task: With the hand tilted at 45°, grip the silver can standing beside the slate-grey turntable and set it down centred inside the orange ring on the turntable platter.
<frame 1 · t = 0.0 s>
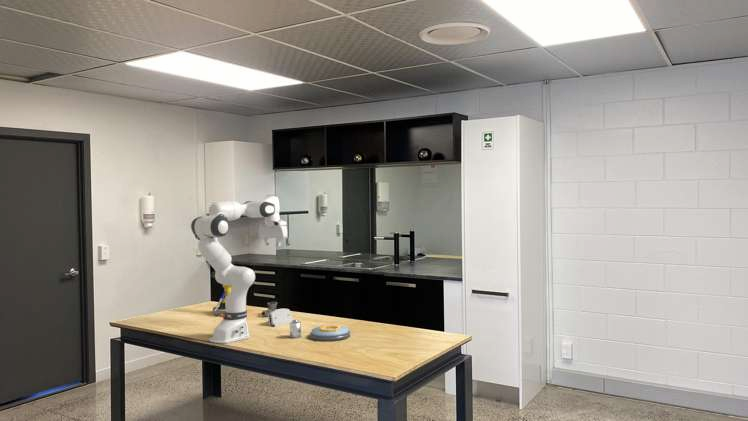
hand: (273, 245, 328), 48 cm above the table, tool pointing down, fingers open, 8 cm apart
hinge: (280, 324, 334), on the table
turntable platter: (329, 330, 300), point 3 cm above the table, hinge at 0.0°
pipe: (270, 316, 357), on the table
turntable base: (330, 336, 300), on the table
silver can: (295, 337, 300), on the table
cordless drill: (225, 313, 369), on the table
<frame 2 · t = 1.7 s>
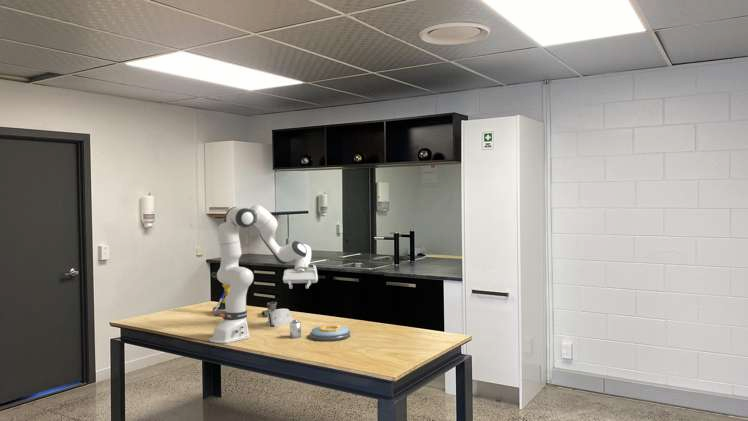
hand: (298, 288, 314), 24 cm above the table, tool tilted 45°, fingers open, 8 cm apart
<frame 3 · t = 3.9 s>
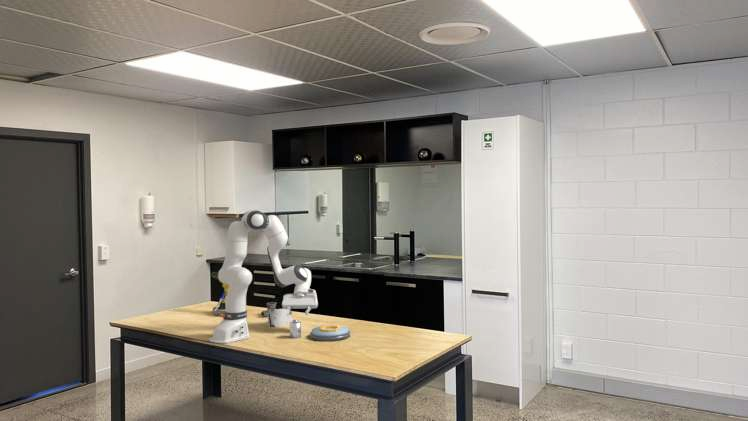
hand: (298, 314, 307), 11 cm above the table, tool tilted 45°, fingers open, 8 cm apart
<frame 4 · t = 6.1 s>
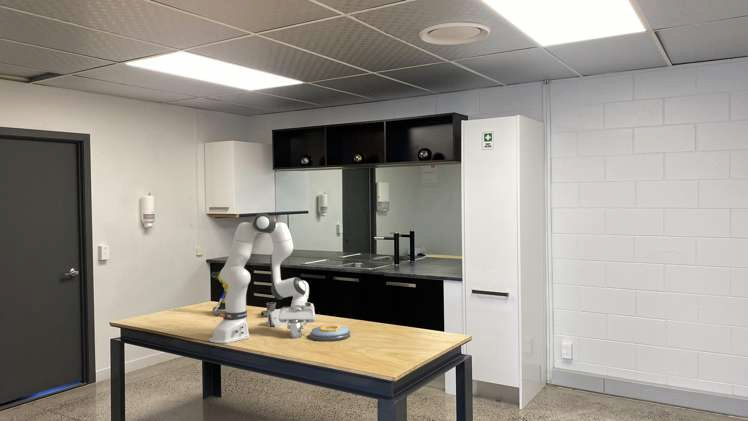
hand: (295, 328, 299), 5 cm above the table, tool tilted 45°, fingers closed on silver can, 6 cm apart
silver can: (295, 337, 300), on the table, touching gripper
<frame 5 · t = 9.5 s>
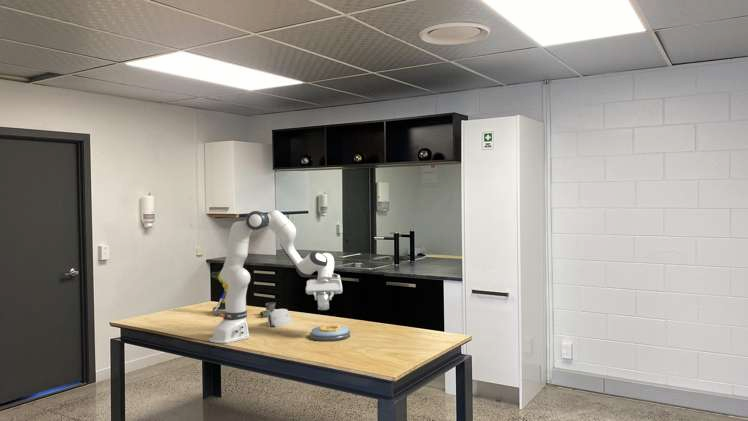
hand: (323, 299, 299), 20 cm above the table, tool tilted 45°, fingers closed on silver can, 6 cm apart
silver can: (323, 308, 300), point 15 cm above the table, touching gripper
when the fingers open (10 cm above the table, at t = 12.6 s): silver can drops 1 cm, resting on turntable platter.
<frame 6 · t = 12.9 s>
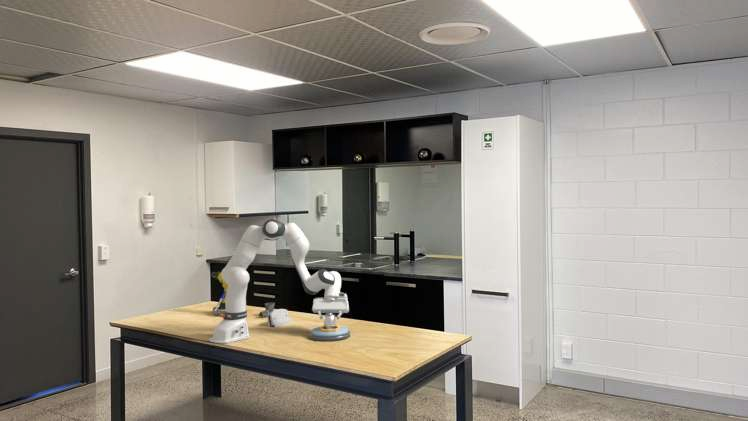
hand: (329, 318, 299), 10 cm above the table, tool tilted 45°, fingers open, 8 cm apart
turntable platter: (329, 330, 300), point 3 cm above the table, hinge at 0.0°, touching silver can
silver can: (329, 329, 300), point 4 cm above the table, touching turntable platter
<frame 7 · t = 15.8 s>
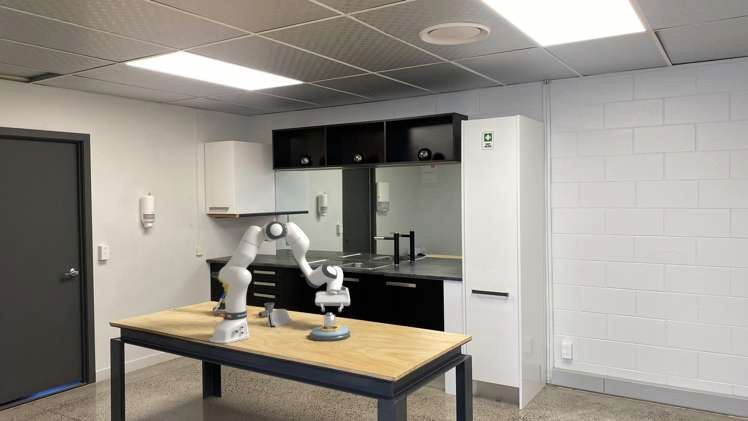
hand: (331, 311, 312), 11 cm above the table, tool tilted 45°, fingers open, 8 cm apart
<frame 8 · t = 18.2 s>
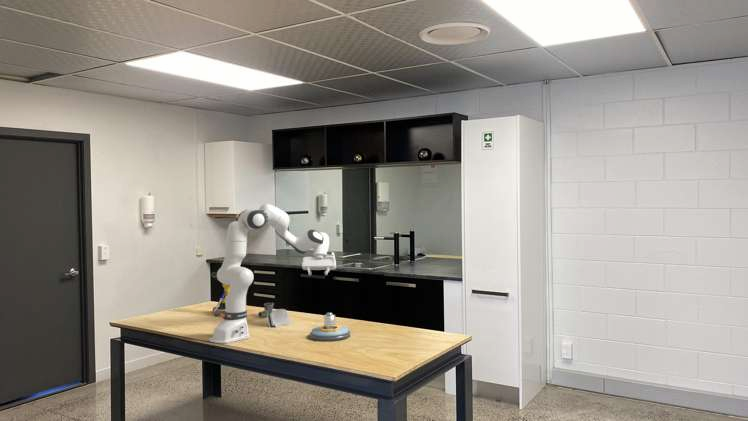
hand: (317, 274, 319), 31 cm above the table, tool tilted 45°, fingers open, 8 cm apart
at the end: silver can 0.1 cm from the turntable platter (horizontally); silver can tilted 0°; silver can point 3.6 cm above the table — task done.
